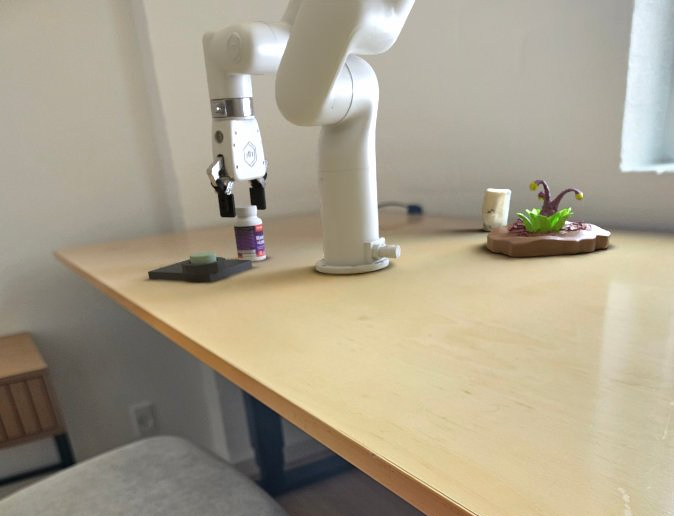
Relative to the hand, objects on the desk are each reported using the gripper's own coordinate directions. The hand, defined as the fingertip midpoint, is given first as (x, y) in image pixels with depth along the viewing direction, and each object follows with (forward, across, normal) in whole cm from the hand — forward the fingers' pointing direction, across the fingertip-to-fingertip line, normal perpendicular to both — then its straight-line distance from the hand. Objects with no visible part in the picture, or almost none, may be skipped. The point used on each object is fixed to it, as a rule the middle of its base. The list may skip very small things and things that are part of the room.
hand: (244, 213), depth 123 cm
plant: (+7, +18, -52) cm, 55 cm away
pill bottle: (+9, 0, -1) cm, 9 cm away
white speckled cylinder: (+8, +36, -38) cm, 53 cm away
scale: (+8, -13, +1) cm, 16 cm away
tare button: (+6, -17, -3) cm, 18 cm away
